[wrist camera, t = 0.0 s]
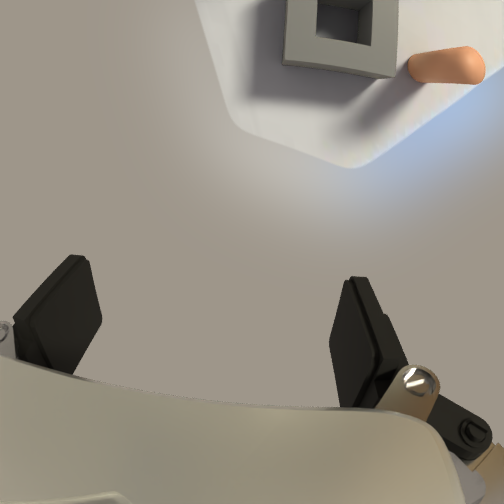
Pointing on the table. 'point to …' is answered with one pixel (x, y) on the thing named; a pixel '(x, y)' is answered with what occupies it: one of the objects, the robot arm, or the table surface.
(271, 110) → the table surface
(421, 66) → the peg
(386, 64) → the socket block
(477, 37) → the table surface
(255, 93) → the table surface
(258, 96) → the table surface
